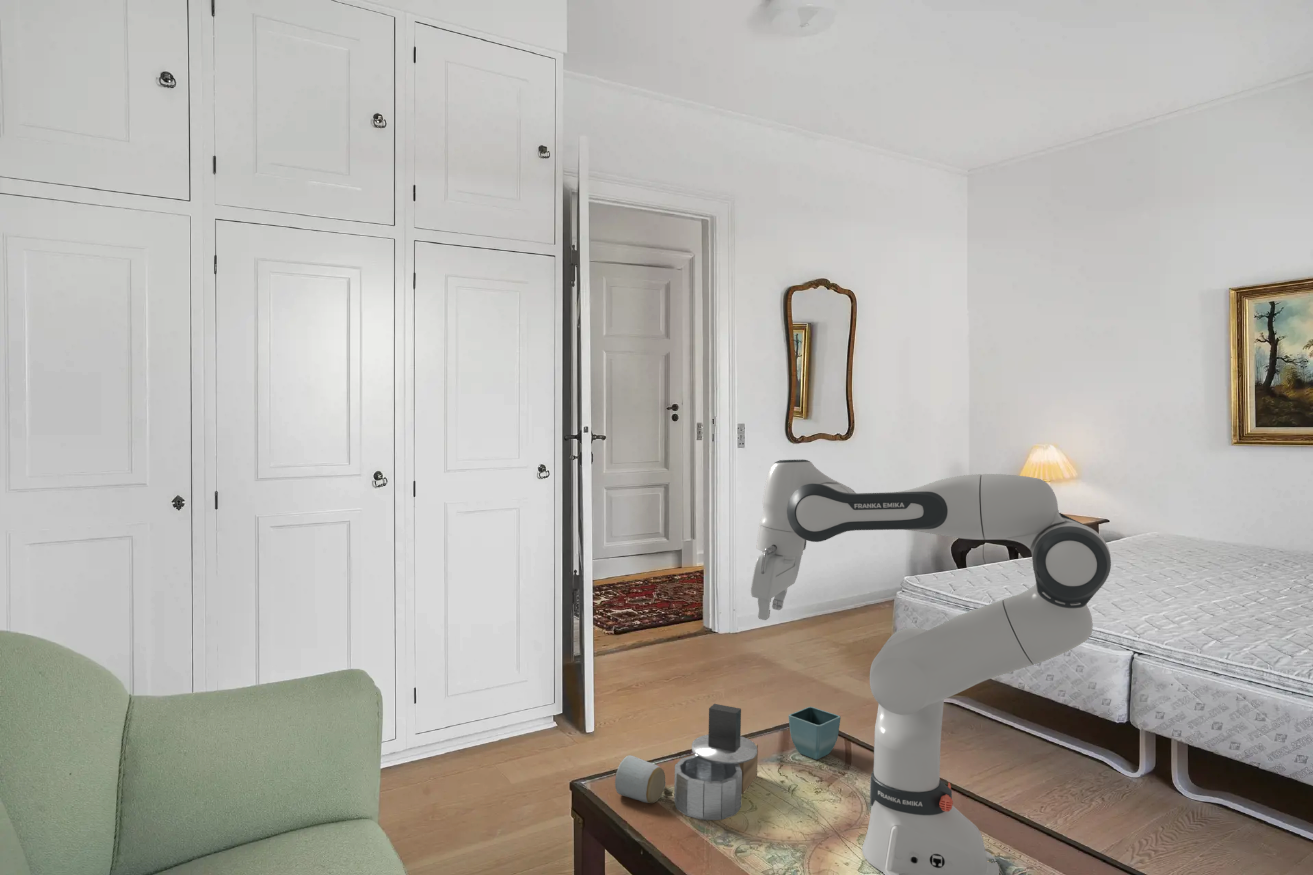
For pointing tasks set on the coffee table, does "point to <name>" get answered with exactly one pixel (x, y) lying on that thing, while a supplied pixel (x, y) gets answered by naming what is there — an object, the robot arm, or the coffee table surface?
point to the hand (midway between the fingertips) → (770, 613)
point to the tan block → (749, 772)
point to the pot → (707, 788)
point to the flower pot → (814, 731)
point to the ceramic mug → (639, 780)
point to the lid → (724, 738)
